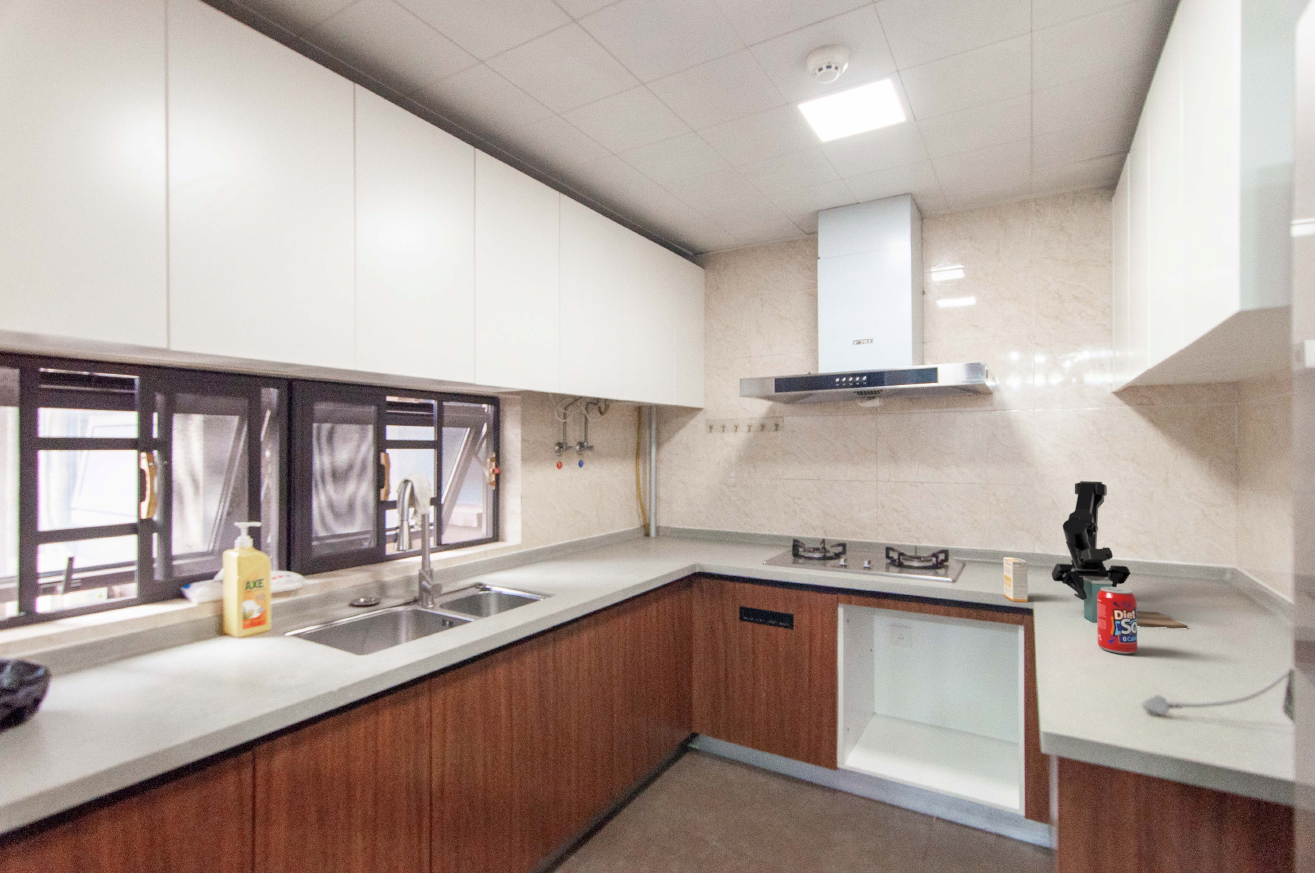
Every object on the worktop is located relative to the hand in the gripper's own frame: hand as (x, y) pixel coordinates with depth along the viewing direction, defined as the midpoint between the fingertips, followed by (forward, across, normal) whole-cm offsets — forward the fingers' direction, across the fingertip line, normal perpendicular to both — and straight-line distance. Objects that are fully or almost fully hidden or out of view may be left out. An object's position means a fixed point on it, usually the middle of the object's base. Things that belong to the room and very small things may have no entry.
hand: (1100, 598), depth 176 cm
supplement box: (-12, -14, +22) cm, 29 cm away
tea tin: (+4, 0, +6) cm, 7 cm away
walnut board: (+2, +13, +8) cm, 15 cm away
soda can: (+24, -8, -14) cm, 29 cm away
